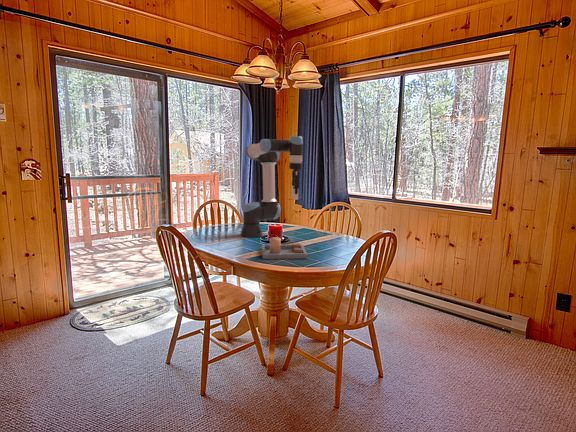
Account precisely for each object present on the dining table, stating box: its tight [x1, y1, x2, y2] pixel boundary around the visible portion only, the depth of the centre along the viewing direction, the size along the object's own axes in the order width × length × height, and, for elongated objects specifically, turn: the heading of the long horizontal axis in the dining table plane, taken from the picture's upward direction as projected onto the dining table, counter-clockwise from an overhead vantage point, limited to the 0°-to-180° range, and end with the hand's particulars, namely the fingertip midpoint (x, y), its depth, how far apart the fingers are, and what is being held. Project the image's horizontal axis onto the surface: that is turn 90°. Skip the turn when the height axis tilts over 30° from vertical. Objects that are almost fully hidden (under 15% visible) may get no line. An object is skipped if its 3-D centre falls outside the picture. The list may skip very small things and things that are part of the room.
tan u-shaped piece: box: [269, 236, 282, 254], centre depth 213 cm, size 6×6×9 cm
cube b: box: [294, 248, 302, 253], centre depth 210 cm, size 4×4×4 cm
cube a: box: [291, 243, 301, 252], centre depth 220 cm, size 4×4×4 cm
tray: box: [261, 243, 308, 260], centre depth 214 cm, size 21×25×3 cm
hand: (294, 198), depth 220 cm, fingers open, 13 cm apart
